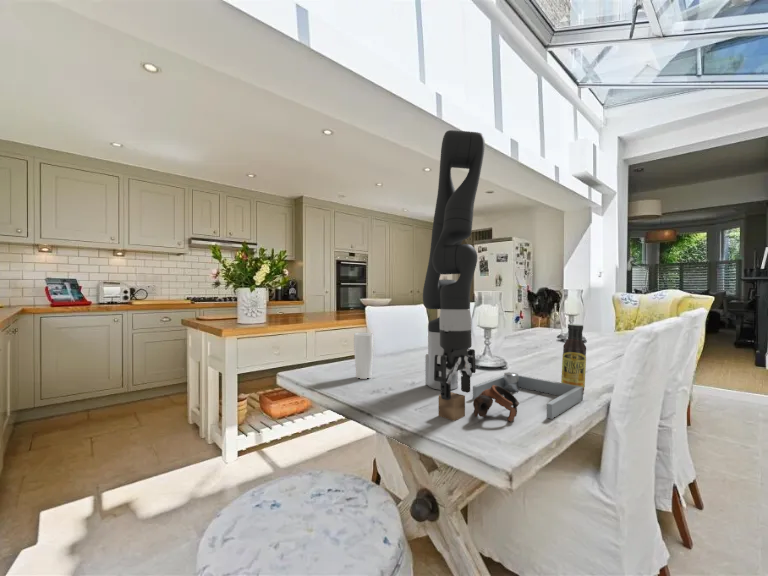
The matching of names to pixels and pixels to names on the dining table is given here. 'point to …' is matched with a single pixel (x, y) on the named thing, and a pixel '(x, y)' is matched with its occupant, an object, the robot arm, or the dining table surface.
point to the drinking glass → (363, 354)
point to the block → (452, 407)
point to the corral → (566, 392)
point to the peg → (511, 382)
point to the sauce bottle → (574, 357)
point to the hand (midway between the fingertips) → (456, 395)
